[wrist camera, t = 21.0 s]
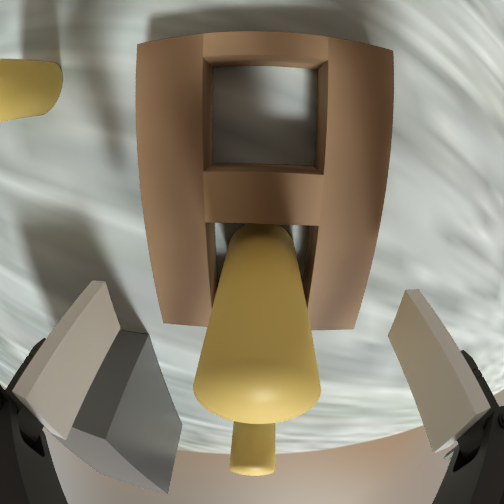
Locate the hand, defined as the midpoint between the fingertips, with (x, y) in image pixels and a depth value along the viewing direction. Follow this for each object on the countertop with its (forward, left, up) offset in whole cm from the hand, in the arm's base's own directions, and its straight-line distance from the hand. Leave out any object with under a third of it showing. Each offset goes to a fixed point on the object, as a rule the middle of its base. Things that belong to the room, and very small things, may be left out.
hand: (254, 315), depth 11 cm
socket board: (0, +4, -6) cm, 7 cm away
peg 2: (0, 0, -6) cm, 6 cm away
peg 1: (-15, +12, -6) cm, 20 cm away
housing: (-13, -16, -6) cm, 21 cm away
